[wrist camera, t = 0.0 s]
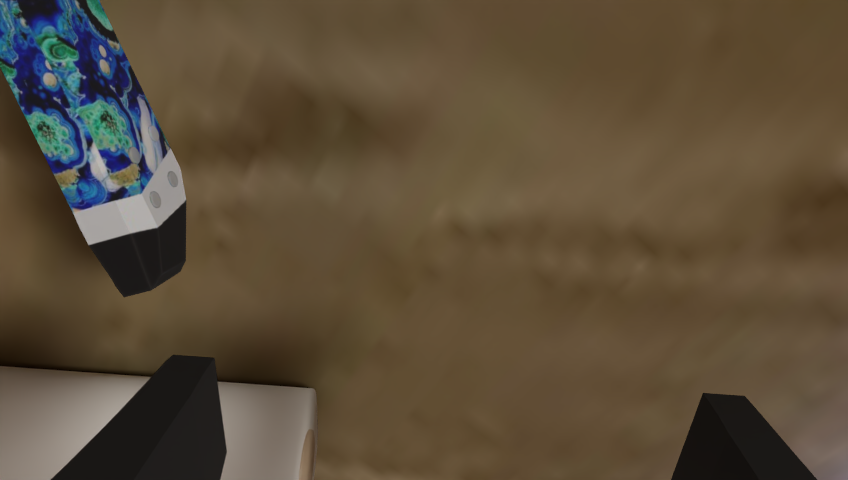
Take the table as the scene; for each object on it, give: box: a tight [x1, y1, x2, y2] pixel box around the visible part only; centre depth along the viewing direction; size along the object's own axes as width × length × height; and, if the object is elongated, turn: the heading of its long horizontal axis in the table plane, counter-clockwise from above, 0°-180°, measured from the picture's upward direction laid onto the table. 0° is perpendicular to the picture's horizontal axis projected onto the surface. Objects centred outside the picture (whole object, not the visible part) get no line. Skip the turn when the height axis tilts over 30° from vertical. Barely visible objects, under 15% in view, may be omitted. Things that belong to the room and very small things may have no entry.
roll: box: [0, 366, 318, 480], centre depth 24 cm, size 5×12×5 cm, turn 87°
